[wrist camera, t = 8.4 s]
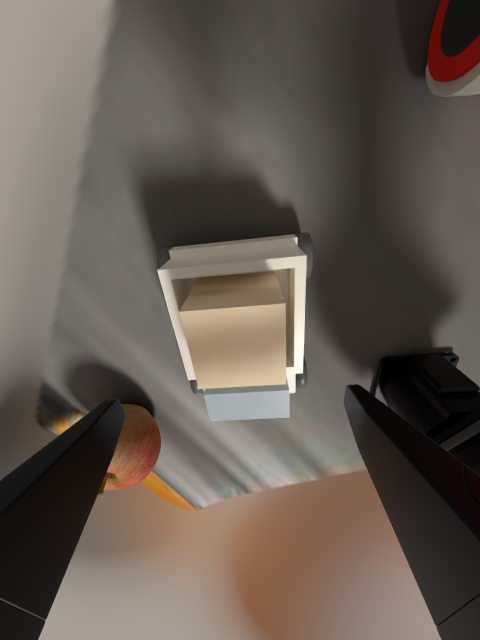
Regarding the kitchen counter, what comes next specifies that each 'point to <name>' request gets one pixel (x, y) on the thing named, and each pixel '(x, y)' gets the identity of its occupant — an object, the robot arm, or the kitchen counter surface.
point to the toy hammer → (455, 49)
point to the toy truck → (231, 259)
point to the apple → (133, 450)
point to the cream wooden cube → (236, 330)
